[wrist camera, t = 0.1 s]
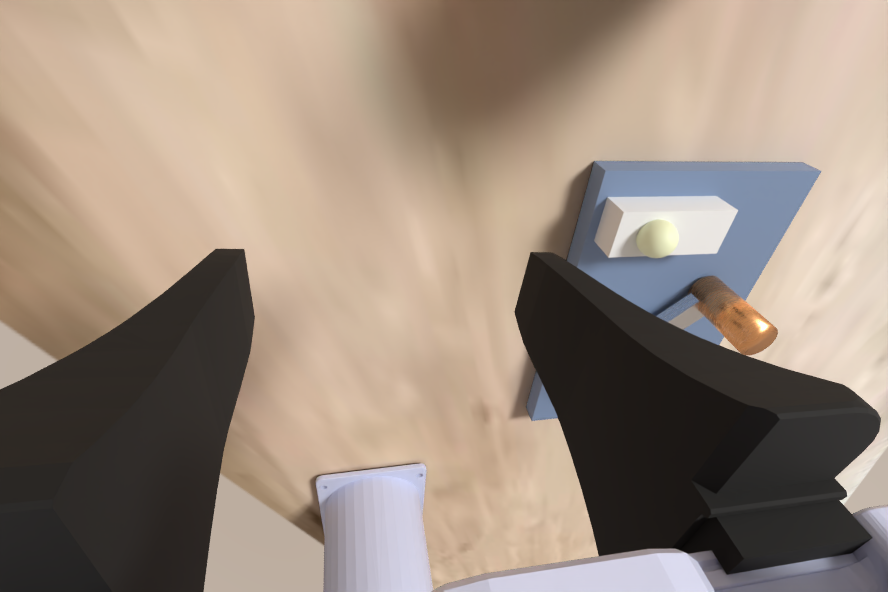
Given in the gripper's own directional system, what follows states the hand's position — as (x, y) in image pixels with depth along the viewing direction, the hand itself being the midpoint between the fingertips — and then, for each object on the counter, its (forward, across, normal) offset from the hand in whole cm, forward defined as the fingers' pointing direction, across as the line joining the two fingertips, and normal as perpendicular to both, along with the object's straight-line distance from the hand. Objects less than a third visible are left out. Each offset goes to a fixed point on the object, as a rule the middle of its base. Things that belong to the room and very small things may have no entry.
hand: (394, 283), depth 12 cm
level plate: (+10, -17, +9) cm, 22 cm away
